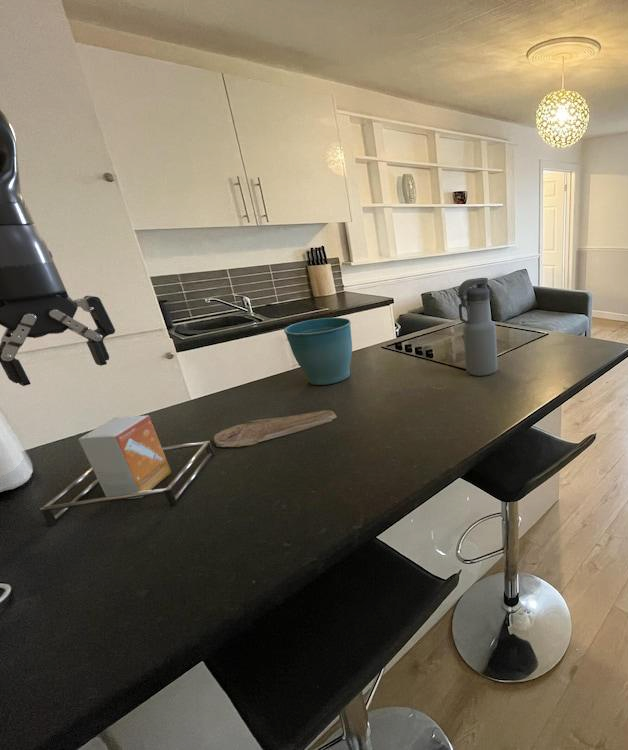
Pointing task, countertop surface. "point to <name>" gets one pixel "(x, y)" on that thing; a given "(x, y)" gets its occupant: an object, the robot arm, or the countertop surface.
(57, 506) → the metal rack
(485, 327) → the water bottle
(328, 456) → the countertop surface
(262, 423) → the fish fossil
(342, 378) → the flower pot
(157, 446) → the small box
